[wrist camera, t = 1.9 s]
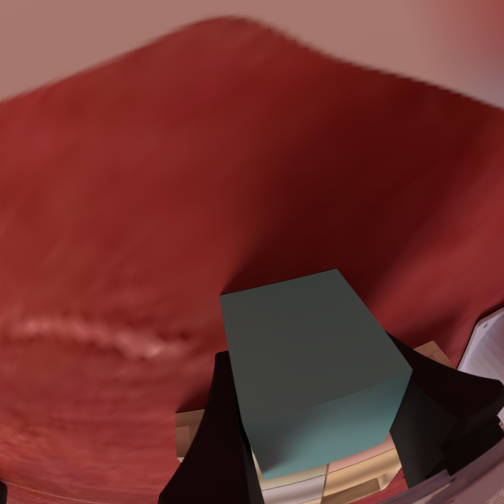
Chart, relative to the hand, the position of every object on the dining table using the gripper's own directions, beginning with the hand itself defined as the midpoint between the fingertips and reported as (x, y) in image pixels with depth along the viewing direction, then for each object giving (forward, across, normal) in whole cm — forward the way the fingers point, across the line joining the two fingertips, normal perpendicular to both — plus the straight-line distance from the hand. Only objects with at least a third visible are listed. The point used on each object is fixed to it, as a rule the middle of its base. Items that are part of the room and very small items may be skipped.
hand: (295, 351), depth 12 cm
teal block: (+2, 0, 0) cm, 2 cm away
